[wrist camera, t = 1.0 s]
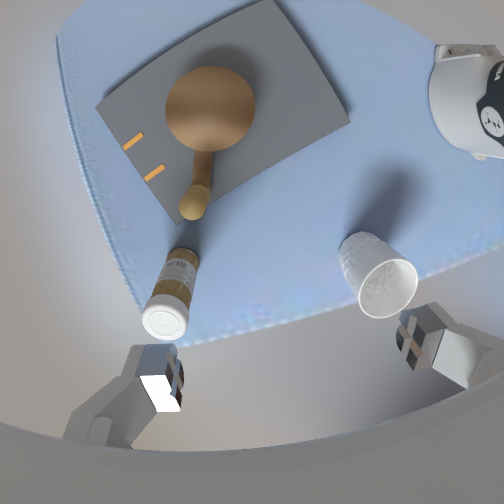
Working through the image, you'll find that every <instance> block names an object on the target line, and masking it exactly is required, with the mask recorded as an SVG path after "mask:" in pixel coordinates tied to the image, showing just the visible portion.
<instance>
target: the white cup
mask: <svg viewBox="0 0 504 504" xmlns="http://www.w3.org/2000/svg"><path fill="white" fill-rule="evenodd" d="M338 263H339V265H340V267H341V269H342V271H343V273H344V276H345V278H346V281H347V283H348V285H349V286H350V288H351V290H352V292H353V294H354V296H355V298H356V300H357V301H358V303H359V305H360V307H361V309H362V311H363V312H364V313H365V314H367V315H368V316H370V317H374V318H385V317H389V316H392V315H394V314H396V313H398V312H399V311H401V310H402V309H403V308H404V307H405V306H406V305H407V304H408V303H409V302H410V300H411V299H412V298H413V296H414V294H415V292H416V289H417V285H418V273H417V270H416V268H415V266H414V265H413V264H412V263H411V262H410V261H408V260H407V259H406V258H405V257H403V256H402V255H401V254H400V253H398V252H397V251H396V250H395V249H393V248H392V247H391V246H390V245H388V244H387V243H385V242H384V241H382V240H380V239H378V238H377V237H376V236H375V235H373V234H372V233H369V232H363V231H361V232H358V233H354V234H352V235H350V236H349V237H348V238H347V239H346V240H344V241H343V243H342V245H341V247H340V249H339V251H338Z"/></svg>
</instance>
